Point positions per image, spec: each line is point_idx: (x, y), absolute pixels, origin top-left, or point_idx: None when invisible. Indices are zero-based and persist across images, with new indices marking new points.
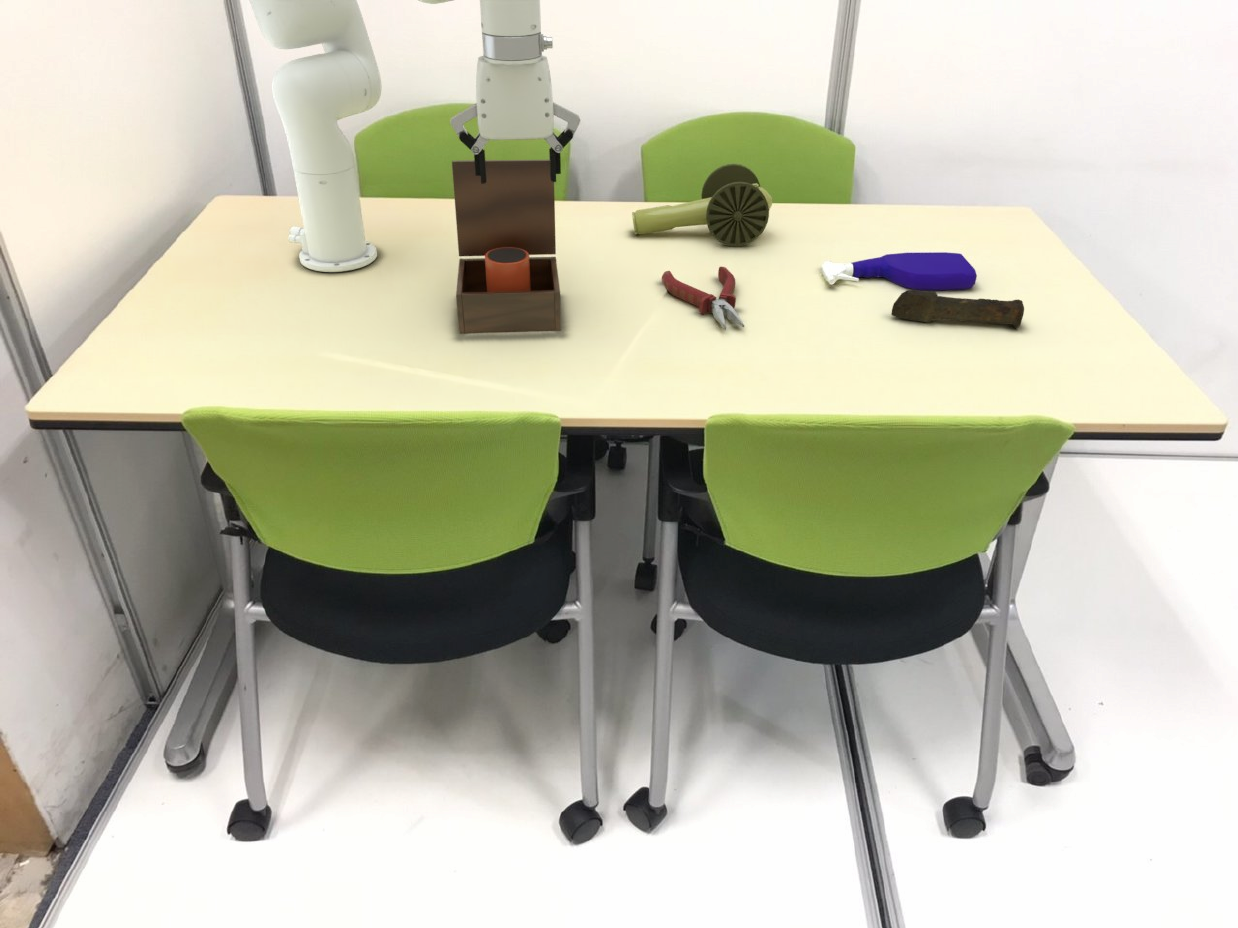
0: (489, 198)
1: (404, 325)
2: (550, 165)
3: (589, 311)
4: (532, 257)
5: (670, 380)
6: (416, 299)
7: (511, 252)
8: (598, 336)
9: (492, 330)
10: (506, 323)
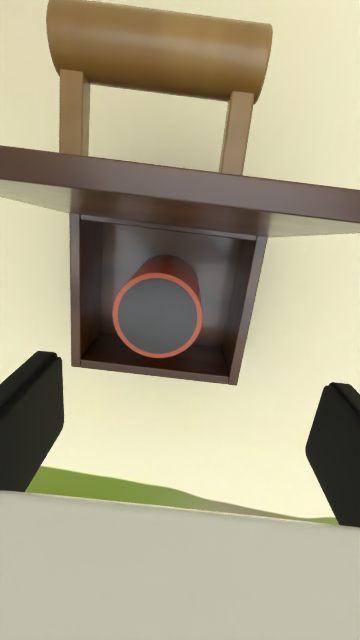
0: (105, 208)
1: (15, 284)
2: (334, 486)
3: (287, 286)
4: None
5: None
6: None
7: (167, 307)
8: (275, 361)
9: None
10: None
